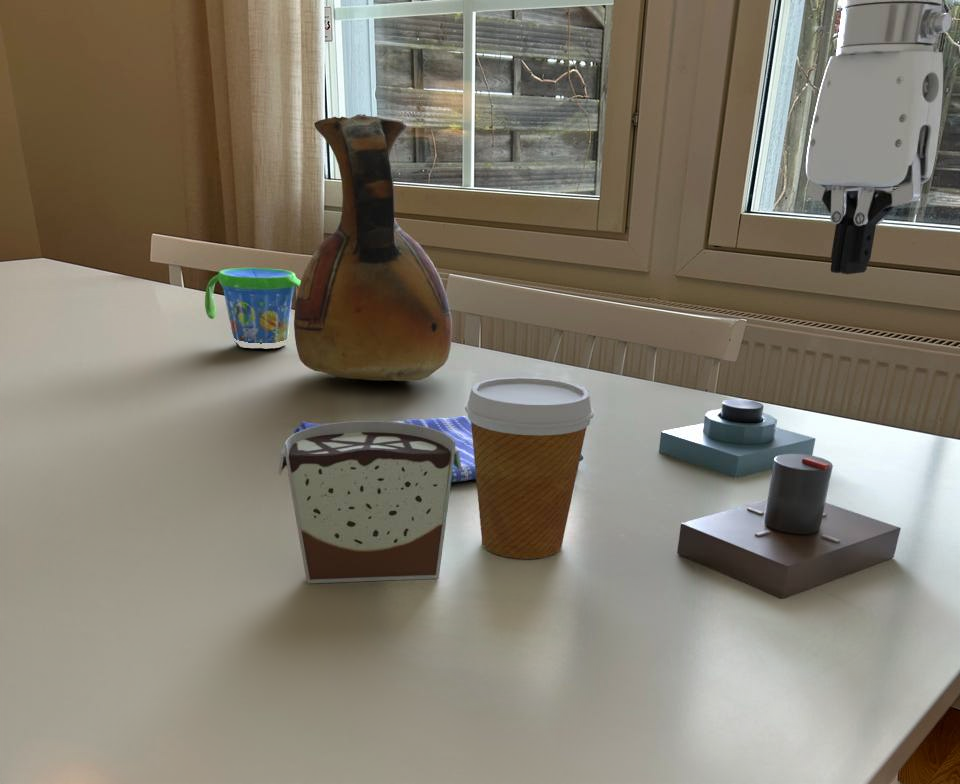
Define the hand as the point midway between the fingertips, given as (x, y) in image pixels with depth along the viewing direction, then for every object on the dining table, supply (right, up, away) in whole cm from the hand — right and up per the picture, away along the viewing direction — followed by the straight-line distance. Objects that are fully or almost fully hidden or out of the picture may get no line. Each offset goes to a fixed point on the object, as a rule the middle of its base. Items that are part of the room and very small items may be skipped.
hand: (848, 271), depth 89 cm
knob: (-9, -24, -13) cm, 29 cm away
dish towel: (-38, -16, +7) cm, 42 cm away
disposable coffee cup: (-30, -26, -12) cm, 41 cm away
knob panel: (-9, -27, -12) cm, 31 cm away
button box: (-7, -15, +12) cm, 20 cm away
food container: (-41, -28, -16) cm, 53 cm away
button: (-7, -11, +10) cm, 17 cm away
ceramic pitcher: (-47, 0, +37) cm, 60 cm away
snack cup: (-65, +9, +53) cm, 84 cm away
